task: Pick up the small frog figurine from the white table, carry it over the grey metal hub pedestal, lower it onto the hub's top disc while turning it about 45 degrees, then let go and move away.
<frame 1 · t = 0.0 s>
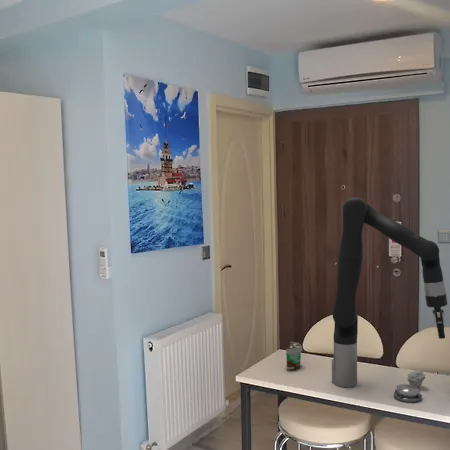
hand: (441, 335, 205), 22 cm above the table, tool pointing down, fingers open, 8 cm apart
food container: (295, 368, 239), on the table
hub: (407, 397, 203), on the table
frog figurine: (416, 387, 213), on the table
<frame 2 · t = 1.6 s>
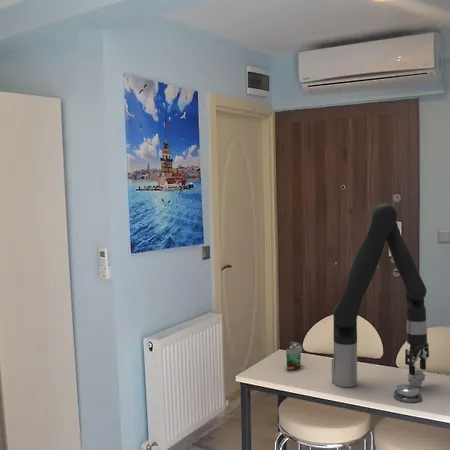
hand: (417, 372, 212), 6 cm above the table, tool pointing down, fingers open, 8 cm apart
nothing on the table moved.
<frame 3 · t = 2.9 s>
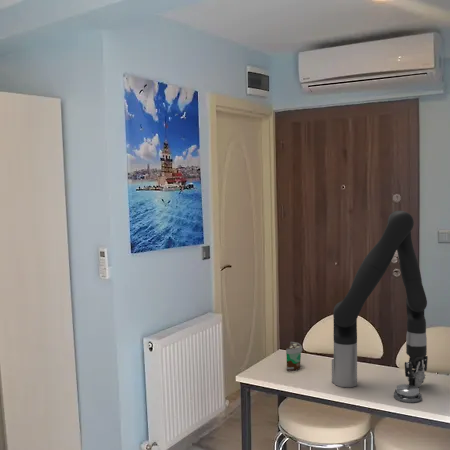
hand: (416, 384, 213), 1 cm above the table, tool pointing down, fingers closed on frog figurine, 6 cm apart
frog figurine: (416, 387, 213), on the table, touching gripper
everything else where it was.
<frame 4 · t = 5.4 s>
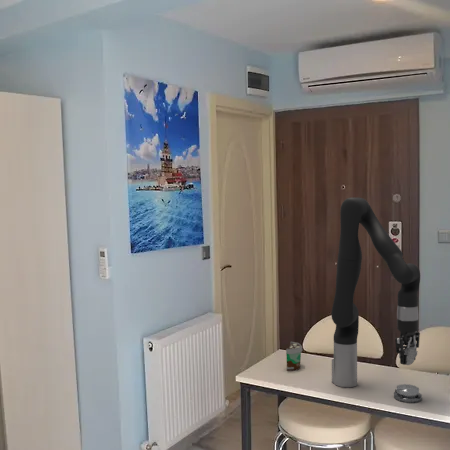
hand: (407, 361, 202), 14 cm above the table, tool pointing down, fingers closed on frog figurine, 6 cm apart
frog figurine: (408, 365, 202), point 12 cm above the table, touching gripper
everything else where it was.
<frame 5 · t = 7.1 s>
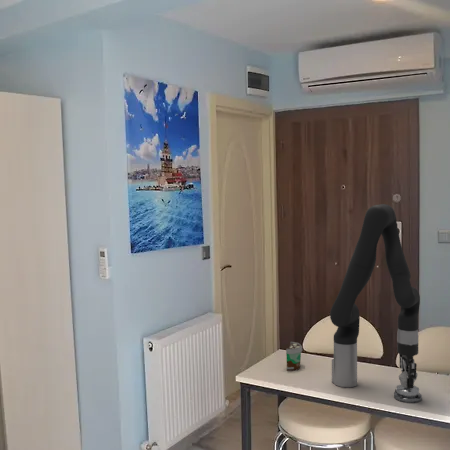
hand: (407, 384, 202), 5 cm above the table, tool pointing down, fingers closed on frog figurine, 6 cm apart
frog figurine: (407, 388, 202), point 4 cm above the table, touching gripper
everything else where it was.
when the fingers open (5 cm above the table, at t = 8.0 s): frog figurine stays where it is, resting on hub.
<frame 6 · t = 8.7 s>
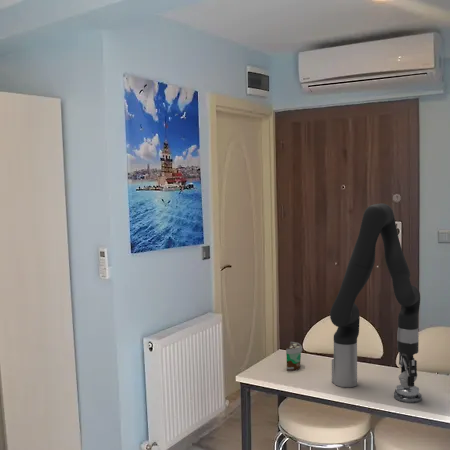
hand: (407, 382, 202), 6 cm above the table, tool pointing down, fingers open, 8 cm apart
frog figurine: (407, 388, 202), point 4 cm above the table, touching hub
everything else where it was.
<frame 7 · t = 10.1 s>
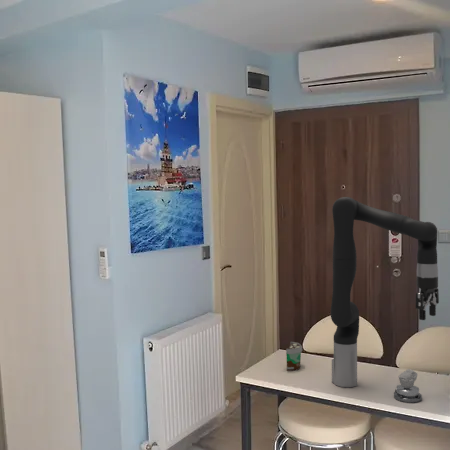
hand: (427, 317, 204), 29 cm above the table, tool pointing down, fingers open, 8 cm apart
nothing on the table moved.
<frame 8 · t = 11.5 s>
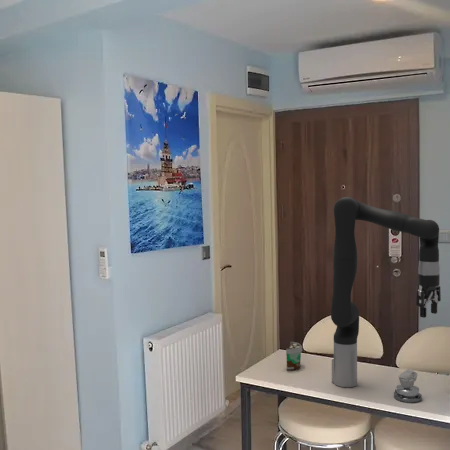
hand: (428, 315, 205), 30 cm above the table, tool pointing down, fingers open, 8 cm apart
nothing on the table moved.
at the end: frog figurine 0.1 cm from the hub (horizontally); frog figurine point 3.5 cm above the table; the gripper is holding nothing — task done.
